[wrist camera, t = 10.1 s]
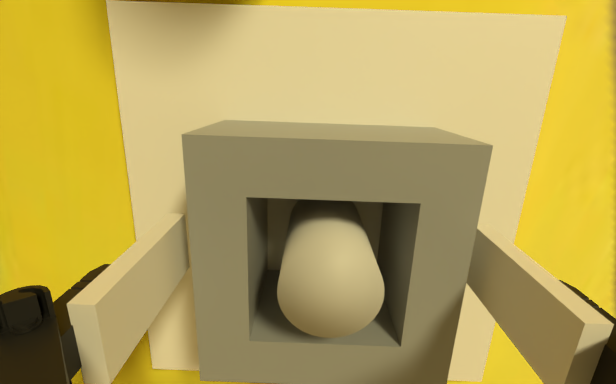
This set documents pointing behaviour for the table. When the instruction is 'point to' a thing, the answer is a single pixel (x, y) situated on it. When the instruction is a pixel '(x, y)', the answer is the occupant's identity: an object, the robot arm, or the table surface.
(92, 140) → the table surface
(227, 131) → the grey hollow box
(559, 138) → the table surface
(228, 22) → the post block
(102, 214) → the table surface
